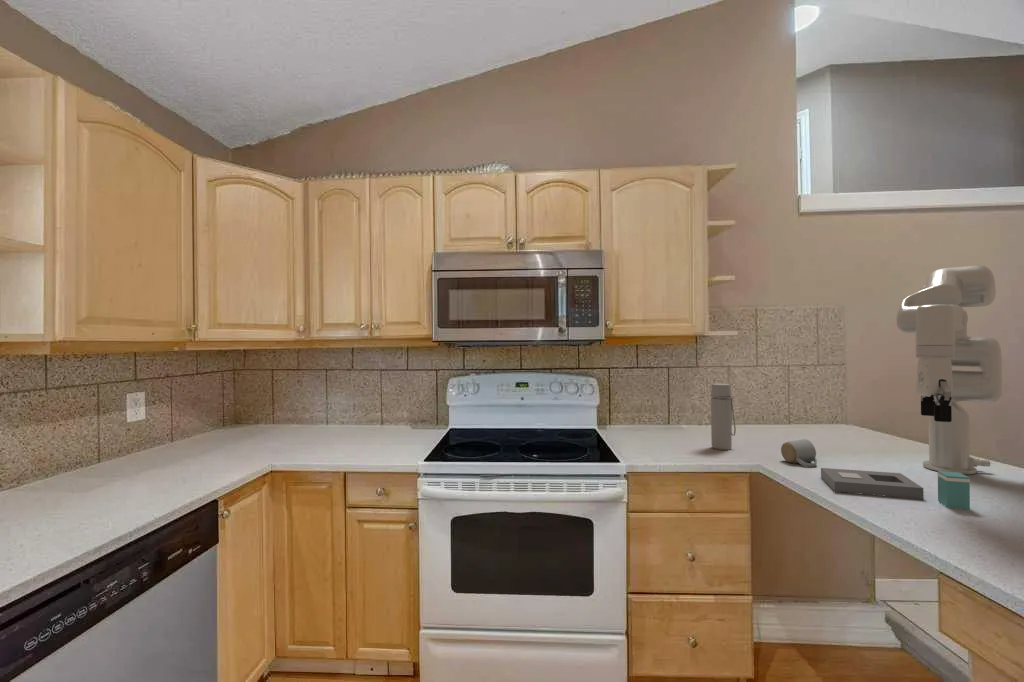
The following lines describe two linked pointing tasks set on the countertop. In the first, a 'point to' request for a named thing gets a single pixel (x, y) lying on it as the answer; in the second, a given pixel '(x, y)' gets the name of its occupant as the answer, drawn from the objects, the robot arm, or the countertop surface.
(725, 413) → the water bottle
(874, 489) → the block
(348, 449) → the countertop surface
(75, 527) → the countertop surface
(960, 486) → the block
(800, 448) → the ceramic mug
